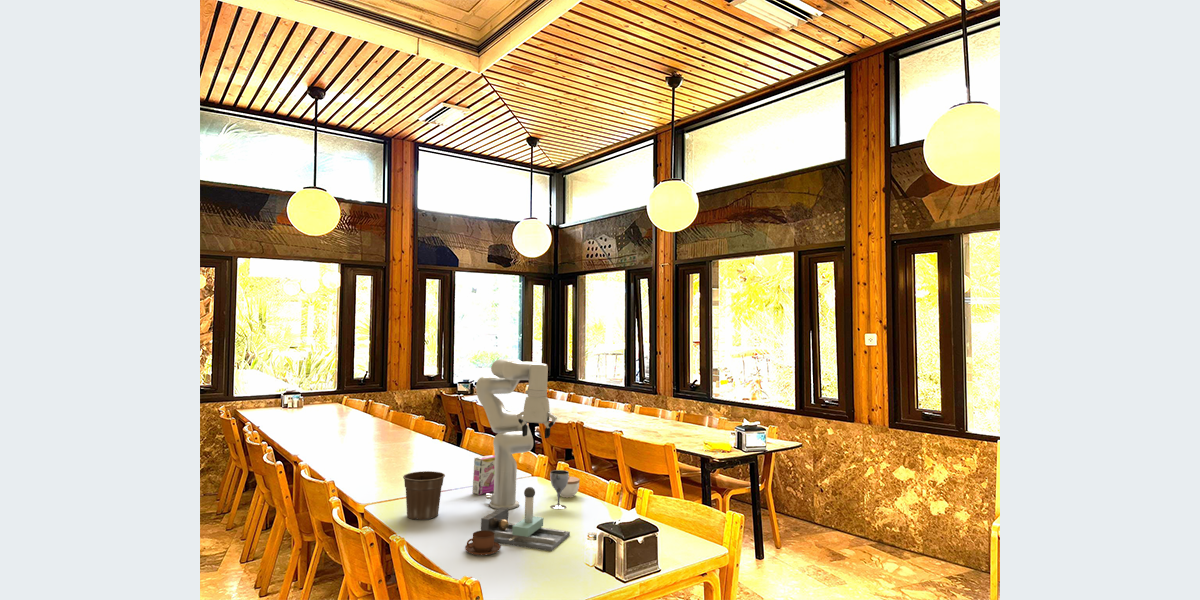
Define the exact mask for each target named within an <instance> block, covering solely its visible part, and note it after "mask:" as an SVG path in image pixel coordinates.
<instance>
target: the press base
mask: <svg viewBox="0 0 1200 600" xmlns="http://www.w3.org/2000/svg"><path fill="white" fill-rule="evenodd" d="M509 510H510V509H509V508H504V507H501V508H499V509H496V510H494V511H492V512H490V513H489V514H487V515H485V516H483V517H481V519H480V521H481V522H480V531H484V530H485V531H492V532H494V533H495V535H494V542H497V543H499V544H500V545H505V546H514V547H520V548H526V549H533V550H538V551H539V550H540V551H545V552H552V551H554V550H555V549H556V548H557V547H558V546H559V545H561V544H562V543H563V542H564V541H565V540H567V539H568V538H569V537H571V536H570V535H571V531H568V530H562V529H555V528H550V527H549V528H548V527H543V526H542V527H541V528H539V529H538V530H537V531H535V532H534V533H533V534H531V535H530V536H528V537H524V536H518V535H512V530H513V526H514V525H515V524H516V523H514V522H513V523H511V522H509Z"/></svg>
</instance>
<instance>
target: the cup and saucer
mask: <svg viewBox="0 0 1200 600" xmlns="http://www.w3.org/2000/svg"><path fill="white" fill-rule="evenodd" d="M494 535H495V533H494V532H492V531H485V530H484V531H481V530H477V531H475V532H473V533H472V538H469V539H467V542H466V544H465V547H464V548H465V551H466V552H467V553H469V554H471V555H474V556H490V555H493V554H496V553H497V552H499V551H500V549H501V548H502V544H499V543H497V542H494Z"/></svg>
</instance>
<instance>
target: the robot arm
mask: <svg viewBox="0 0 1200 600" xmlns="http://www.w3.org/2000/svg"><path fill="white" fill-rule="evenodd" d="M490 370H491V373H492V374H493V375H484V376H481V377H479V378H478V379H477V380H476V381H477V382H476V384H475V390H476V391H475V392H476V395H477V398H478V401H479V402H480V404H481V406H482V407H483V410H484V412H485V414H486V417H487V419H488V423H489V425H490V428H491V431H492V432H493V433H495V434H496V435H495V436H494V438H493V440H492V441H493V442H492V443H493V451H494V456H495V472H494V492H493V494H492V493H486V494H485V500H490V502H489V505H488V506H489V507H490V508H492V509H494V510H495V509H496V510H497V509H499V508H501V507H504V508H509V510H513V509H516V508H518V507H519V505H520V502H519V501H517V500H516V498H517V497H516V494H517V471H518V463H517V460H516V458H514V456H513V454H515V455H516V454H522V453H528V452H530V451H531V450H532V449H533V447H534V438H533V435H532V432H531V429H530V426H529V424H532V423H534V424H543V425H544V426H545V428H544V439H549V438H550V436H551V428H552V427H553V426H554V425H555V424H556V421H558V416H555V415H554V414H553V413H551V412H550V411H551V410H550V401H549V397H548V375H549V373H548V371H549V366H548V364H547V363H542V362H541V363H540V362H537V361H522V360H520V359H518V358H499V359H497V360H495V361H493V363H492V364H491V367H490ZM520 381H528V389H527V390H525V394H526V395H527V396H526V397H525V400H524V403H523V404H524V405H523V411H521V412H520V411H517V410H513V411H509V410H506V409H505V406H504V403H503V402H502V401H501V399H500V398H499V397H497V396H496V395H502V394H504V395H505V394H507V395H508V394H511V393H512V392H514V391H515V389H516V388H517V386H518V384H519V383H520ZM550 419H551V422H550Z"/></svg>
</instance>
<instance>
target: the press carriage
mask: <svg viewBox="0 0 1200 600" xmlns="http://www.w3.org/2000/svg"><path fill="white" fill-rule="evenodd" d="M523 494H524V497H525V499H524V518H523V519H521V520H520V521H518V522H517V523H514V524H515V525H514V526H513V530H512V535H518V536H524V537H528V536H530V535H531V534H533V533H534V532H535V531H537V530H538V529H539V528H541V527H542V528H543V527H544V517H540V516H534V497H535V496H536V490H535V488H533V487H532V486H528V487H526V488H525V489H524V492H523Z"/></svg>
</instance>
